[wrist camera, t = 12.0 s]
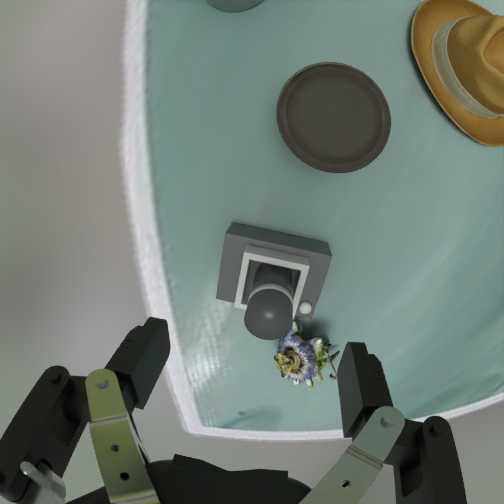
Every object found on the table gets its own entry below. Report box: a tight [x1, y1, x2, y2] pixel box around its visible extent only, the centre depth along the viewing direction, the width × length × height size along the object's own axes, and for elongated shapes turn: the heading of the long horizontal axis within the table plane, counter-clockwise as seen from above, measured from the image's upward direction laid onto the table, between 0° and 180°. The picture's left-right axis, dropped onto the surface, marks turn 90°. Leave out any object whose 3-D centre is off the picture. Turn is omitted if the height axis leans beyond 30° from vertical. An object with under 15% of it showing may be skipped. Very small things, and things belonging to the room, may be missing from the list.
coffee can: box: [277, 62, 391, 173], centre depth 28 cm, size 10×10×14 cm
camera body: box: [216, 222, 332, 319], centre depth 39 cm, size 10×14×8 cm
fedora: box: [411, 0, 504, 146], centre depth 21 cm, size 27×29×12 cm
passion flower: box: [274, 319, 340, 390], centre depth 44 cm, size 11×11×12 cm
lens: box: [244, 263, 293, 340], centre depth 33 cm, size 5×5×10 cm
